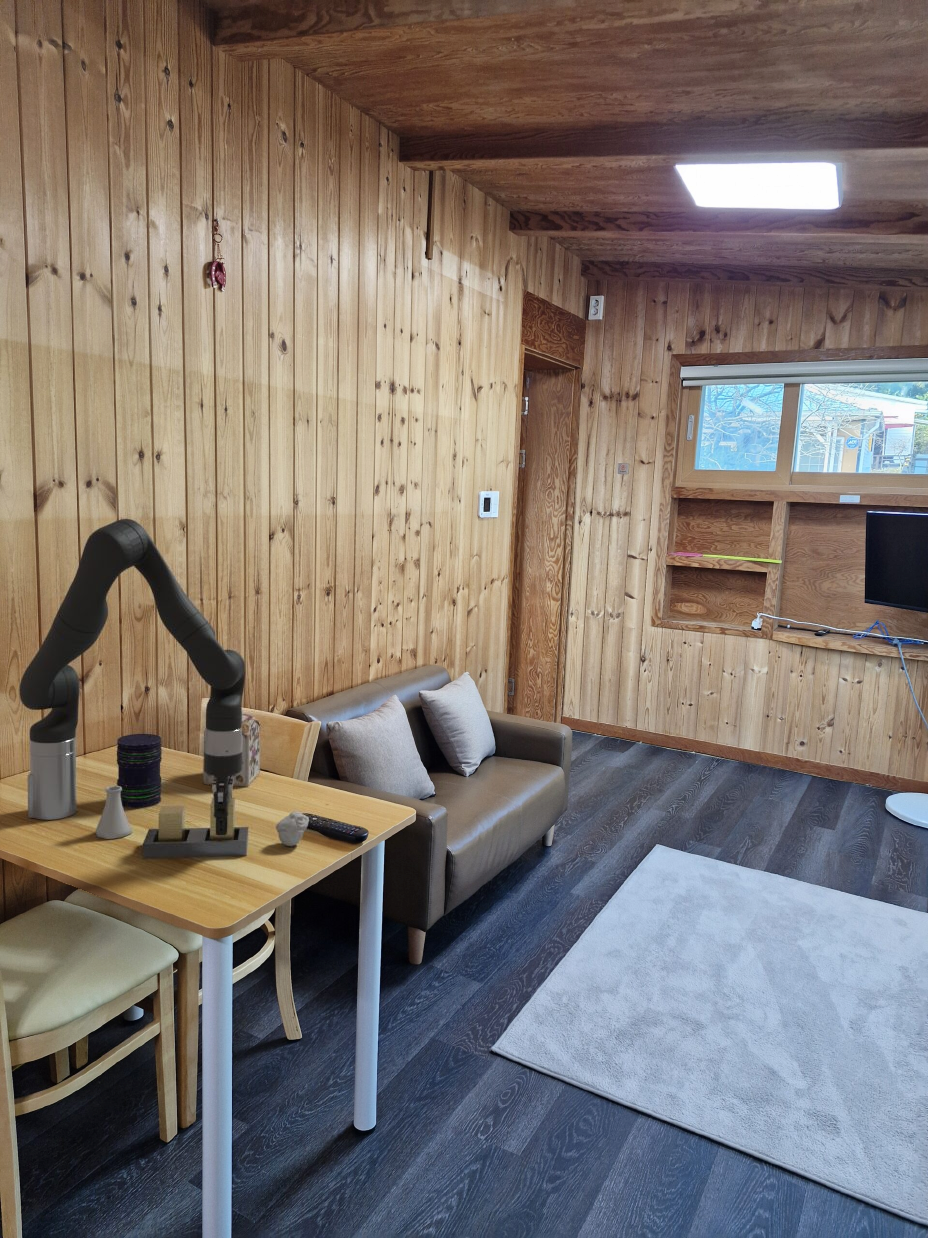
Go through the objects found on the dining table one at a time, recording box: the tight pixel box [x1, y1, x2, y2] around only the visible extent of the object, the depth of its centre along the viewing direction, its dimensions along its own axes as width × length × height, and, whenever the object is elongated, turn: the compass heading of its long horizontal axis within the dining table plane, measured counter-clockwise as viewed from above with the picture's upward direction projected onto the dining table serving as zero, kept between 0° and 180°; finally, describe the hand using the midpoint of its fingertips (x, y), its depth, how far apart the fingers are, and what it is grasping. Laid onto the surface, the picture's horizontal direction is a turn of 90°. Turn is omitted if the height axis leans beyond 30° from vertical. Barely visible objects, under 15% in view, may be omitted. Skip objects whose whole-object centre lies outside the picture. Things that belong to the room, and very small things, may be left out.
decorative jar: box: [202, 710, 261, 788], centre depth 228 cm, size 12×12×18 cm
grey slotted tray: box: [142, 826, 249, 859], centre depth 183 cm, size 20×8×3 cm, turn 101°
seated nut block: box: [158, 805, 186, 842], centre depth 182 cm, size 4×4×8 cm
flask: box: [94, 785, 133, 840], centre depth 189 cm, size 7×7×10 cm
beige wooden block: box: [209, 797, 236, 841], centre depth 184 cm, size 4×4×8 cm
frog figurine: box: [275, 811, 310, 847], centre depth 188 cm, size 6×7×7 cm
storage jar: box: [116, 733, 163, 809], centre depth 209 cm, size 10×10×15 cm
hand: (222, 829), depth 184 cm, fingers closed on beige wooden block, 4 cm apart
